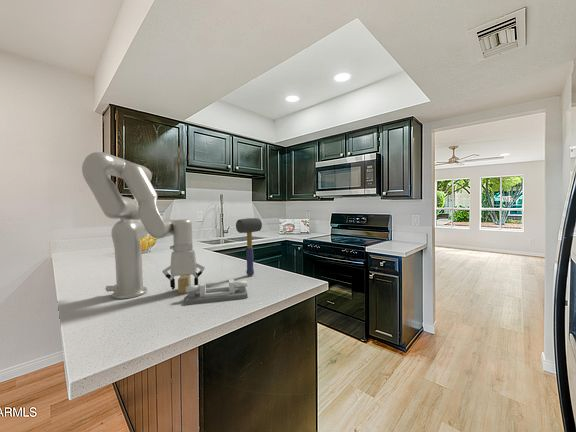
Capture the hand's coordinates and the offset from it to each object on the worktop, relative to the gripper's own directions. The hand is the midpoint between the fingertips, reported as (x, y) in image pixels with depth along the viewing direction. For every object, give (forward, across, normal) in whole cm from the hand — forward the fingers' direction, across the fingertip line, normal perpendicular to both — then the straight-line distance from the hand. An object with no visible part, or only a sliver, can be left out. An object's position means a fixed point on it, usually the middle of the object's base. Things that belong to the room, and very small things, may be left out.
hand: (184, 287), depth 111 cm
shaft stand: (+1, +14, -12) cm, 18 cm away
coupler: (+1, 0, 0) cm, 1 cm away
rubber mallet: (+2, +30, +15) cm, 34 cm away
